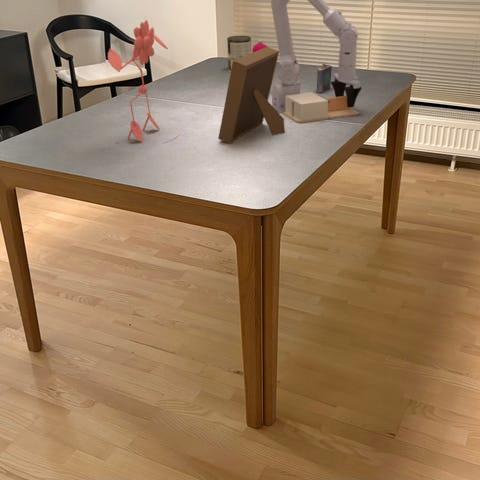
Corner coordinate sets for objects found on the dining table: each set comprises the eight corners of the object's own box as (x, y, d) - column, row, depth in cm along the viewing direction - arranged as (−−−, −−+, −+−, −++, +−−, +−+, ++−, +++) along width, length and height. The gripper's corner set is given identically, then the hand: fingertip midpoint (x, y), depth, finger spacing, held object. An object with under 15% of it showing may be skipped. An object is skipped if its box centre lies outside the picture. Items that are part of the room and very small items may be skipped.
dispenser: (297, 123, 204) (298, 104, 201) (282, 113, 213) (282, 95, 210) (358, 114, 211) (359, 96, 208) (341, 105, 220) (341, 88, 218)
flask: (321, 93, 235) (322, 65, 230) (314, 92, 236) (315, 64, 231) (331, 88, 242) (333, 60, 237) (325, 87, 243) (326, 59, 238)
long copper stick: (301, 114, 209) (301, 102, 207) (299, 113, 210) (300, 101, 208) (353, 107, 215) (353, 95, 213) (351, 106, 216) (351, 94, 214)
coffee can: (223, 70, 272) (222, 37, 266) (241, 67, 278) (240, 34, 272) (238, 74, 265) (237, 40, 259) (256, 70, 271) (255, 37, 265)
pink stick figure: (110, 147, 187) (97, 26, 170) (153, 122, 208) (146, 13, 191) (154, 154, 182) (145, 30, 165) (194, 128, 203) (189, 16, 186)
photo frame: (218, 141, 189) (215, 58, 177) (251, 122, 206) (250, 45, 194) (261, 149, 183) (262, 63, 171) (291, 128, 199) (294, 49, 188)
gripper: (368, 67, 203) (366, 108, 209) (346, 59, 215) (344, 97, 221) (350, 70, 201) (347, 110, 207) (328, 61, 213) (327, 100, 219)
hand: (345, 104), depth 214 cm, fingers open, 7 cm apart
